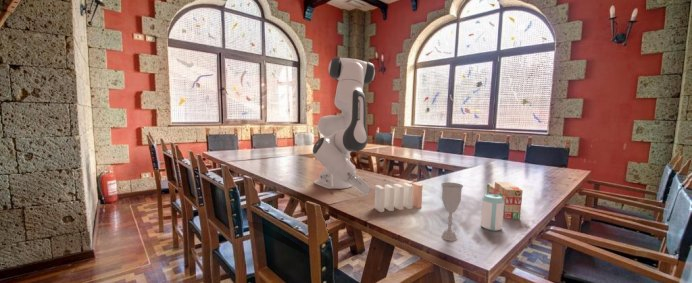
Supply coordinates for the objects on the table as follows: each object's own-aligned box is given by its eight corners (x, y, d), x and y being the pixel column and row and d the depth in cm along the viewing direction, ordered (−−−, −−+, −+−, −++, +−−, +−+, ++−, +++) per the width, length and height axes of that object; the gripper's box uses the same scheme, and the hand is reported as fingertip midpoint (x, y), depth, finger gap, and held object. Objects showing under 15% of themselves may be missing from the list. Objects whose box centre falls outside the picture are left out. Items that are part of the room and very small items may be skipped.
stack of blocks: (485, 202, 139) (487, 176, 138) (499, 203, 138) (501, 177, 137) (503, 219, 118) (506, 188, 116) (520, 220, 117) (523, 189, 116)
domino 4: (408, 209, 127) (409, 186, 126) (402, 205, 132) (402, 183, 131) (412, 208, 128) (413, 186, 127) (405, 204, 133) (406, 183, 132)
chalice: (456, 244, 94) (459, 189, 92) (435, 238, 98) (438, 185, 97) (462, 236, 100) (466, 184, 98) (442, 231, 104) (445, 181, 102)
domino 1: (379, 212, 123) (380, 188, 122) (374, 207, 128) (375, 185, 127) (384, 211, 124) (385, 188, 122) (378, 207, 129) (379, 185, 128)
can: (480, 222, 113) (482, 192, 112) (500, 225, 110) (503, 194, 109) (481, 229, 106) (483, 197, 105) (503, 232, 104) (505, 199, 103)
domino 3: (399, 210, 126) (400, 187, 125) (393, 206, 131) (393, 184, 130) (403, 209, 126) (404, 186, 125) (397, 205, 132) (397, 183, 131)
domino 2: (389, 211, 124) (390, 187, 123) (383, 206, 130) (384, 184, 128) (393, 210, 125) (394, 187, 124) (387, 206, 130) (388, 184, 129)
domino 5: (417, 208, 129) (418, 185, 128) (410, 204, 134) (411, 182, 133) (421, 207, 129) (422, 185, 128) (414, 203, 134) (415, 182, 133)
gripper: (359, 170, 109) (382, 194, 114) (342, 161, 129) (362, 182, 133) (347, 183, 108) (371, 206, 113) (332, 172, 128) (353, 192, 132)
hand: (366, 193), depth 123 cm, fingers closed
